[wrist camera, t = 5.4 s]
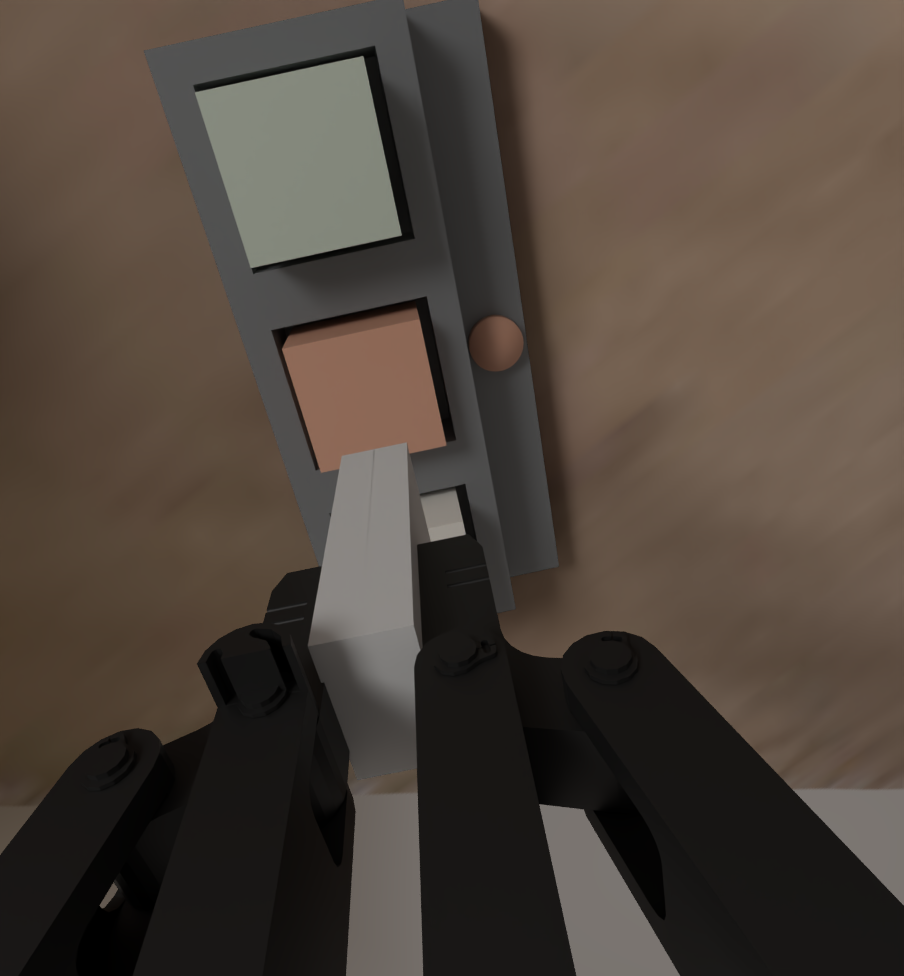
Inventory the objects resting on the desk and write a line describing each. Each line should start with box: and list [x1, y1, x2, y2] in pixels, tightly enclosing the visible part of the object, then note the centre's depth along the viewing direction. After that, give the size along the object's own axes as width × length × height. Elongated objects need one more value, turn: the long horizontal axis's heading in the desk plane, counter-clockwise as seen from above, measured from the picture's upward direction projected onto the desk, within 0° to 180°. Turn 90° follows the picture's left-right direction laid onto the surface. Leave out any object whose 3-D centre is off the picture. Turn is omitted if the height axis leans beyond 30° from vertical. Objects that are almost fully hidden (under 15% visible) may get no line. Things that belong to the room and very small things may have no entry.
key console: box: [144, 0, 559, 613], centre depth 25 cm, size 10×21×4 cm, turn 11°
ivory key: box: [419, 486, 466, 542], centre depth 26 cm, size 4×4×3 cm
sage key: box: [195, 56, 402, 268], centre depth 20 cm, size 4×4×3 cm
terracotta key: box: [282, 300, 446, 473], centre depth 23 cm, size 4×4×3 cm
